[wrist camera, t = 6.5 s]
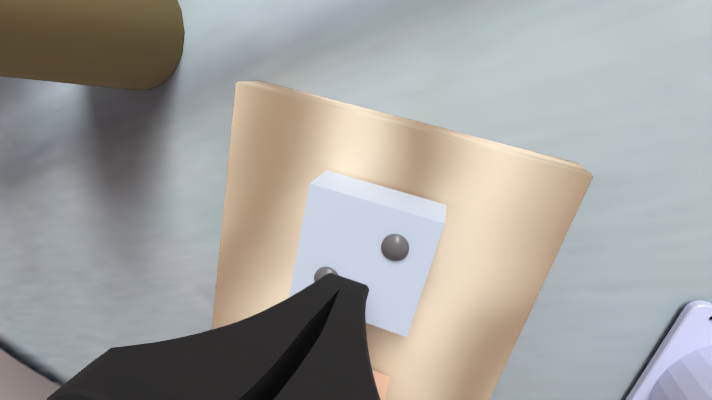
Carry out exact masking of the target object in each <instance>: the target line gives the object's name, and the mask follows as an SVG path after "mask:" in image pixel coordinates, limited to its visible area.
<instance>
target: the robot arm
mask: <svg viewBox="0 0 712 400" xmlns="http://www.w3.org/2000/svg"><path fill="white" fill-rule="evenodd" d="M368 293H369V288H368V286H367V285H365V284H362V283H359V282H356V281H353V280H350V279H347V278H345V277H342V276H339V275H336V274H333V273H328V274H326V275H324V276H323V277H321V278H320V279H318V280H317V281H315V282H314V283H312V284H311V285H309V286H308V287H306V288H304V289H303V290H301V291H299V292H298V293H296V294H294V295H293V296H291V297H289V298H287V299H286V300H284V301H282V302H280V303H278V304H276V305H274V306H272V307H270V308H268V309H266V310H264V311H262V312H260V313H258V314H255V315H253V316H251V317H248V318H246V319H243V320H241V321H238V322H235V323H232V324H229V325H226V326H223V327H219V328H216V329H213V330H209V331H206V332H203V333H199V334H195V335H190V336H186V337H181V338H176V339H171V340H166V341H161V342H155V343H147V344H140V345H132V346H125V347H116V348H111V349H109V350H108V351H106V352H105V353H104V354H102V355H101V356H99V357H98V358H97V359H95V360H94V361H93V362H91V363H90V364H89V365H88V366H86V367H85V368H84V369H83V370H81V371H80V372H79V373H78V374H76V375H75V376H74V377H73V378H72V379H70V380H69V381H68V382H67V383H65V384H64V385H63V386H62V387H60V388H59V389H58V390H57V391H55V392H54V393H53V394H52V395H51V396H49V397H48V398H47V400H381V399H380V397H379V394H378V390H377V387H376V383H375V379H374V376H373V371H372V367H371V362H370V357H369V351H368V344H367V335H366V319H365V310H366V300H367V296H368ZM711 316H712V303H709V302H706V301H700V300H698V301H693V302H691V303H688V304H687V305H686V306H685V308H684V309H683V311H682V312H681V314H680V315H679V317H678V319H677V320H676V322H675V323H674V325H673V326H672V328H671V329H670V331H669V333H668V334H667V336H666V337H665V339H664V340H663V342H662V343H661V345H660V347H659V348H658V350H657V351H656V353H655V354H654V356H653V357H652V359H651V361H650V362H649V364H648V365H647V367H646V368H645V370H644V372H643V373H642V375H641V376H640V378H639V379H638V381H637V382H636V384H635V386H634V387H633V389H632V390H631V392H630V393H629V395H628V396H627V398H626V400H712V320H709V318H710V317H711Z"/></svg>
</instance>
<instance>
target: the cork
mask: <svg viewBox="0 0 712 400" xmlns="http://www.w3.org/2000/svg"><path fill="white" fill-rule="evenodd" d="M183 40H184V27H183V20H182V13H181V9H180V6H179V4H178V1H177V0H0V76H5V77H14V78H24V79H33V80H43V81H53V82H62V83H72V84H81V85H91V86H100V87H110V88H119V89H129V90H149V89H151V88H154V87H156V86H158V85H160V84H163V83H164V82H165V81H166V80H167V79H168V78H169V77H170V75H171V74H172V73H173V72H174V71H175V69H176V67H177V64H178V62H179V60H180V57H181V55H182V50H183Z"/></svg>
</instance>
